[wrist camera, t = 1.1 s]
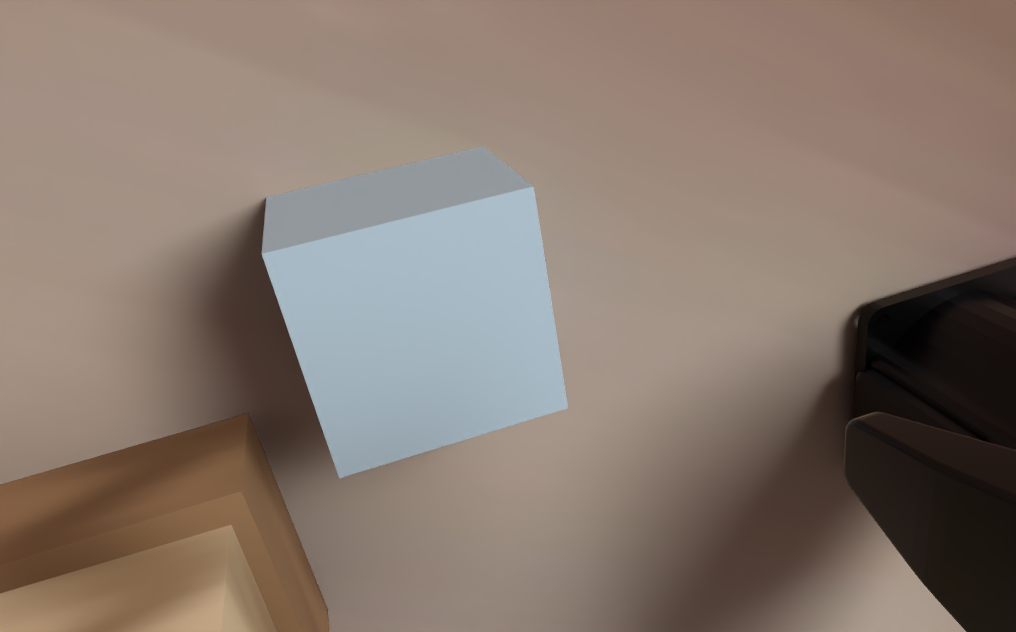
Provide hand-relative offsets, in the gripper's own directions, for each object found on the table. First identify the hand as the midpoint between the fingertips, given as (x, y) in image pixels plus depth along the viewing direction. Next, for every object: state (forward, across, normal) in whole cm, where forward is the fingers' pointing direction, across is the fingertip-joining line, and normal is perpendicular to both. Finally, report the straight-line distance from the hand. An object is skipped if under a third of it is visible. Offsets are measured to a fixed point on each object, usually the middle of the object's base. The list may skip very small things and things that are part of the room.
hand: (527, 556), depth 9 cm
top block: (+10, 0, 0) cm, 10 cm away
